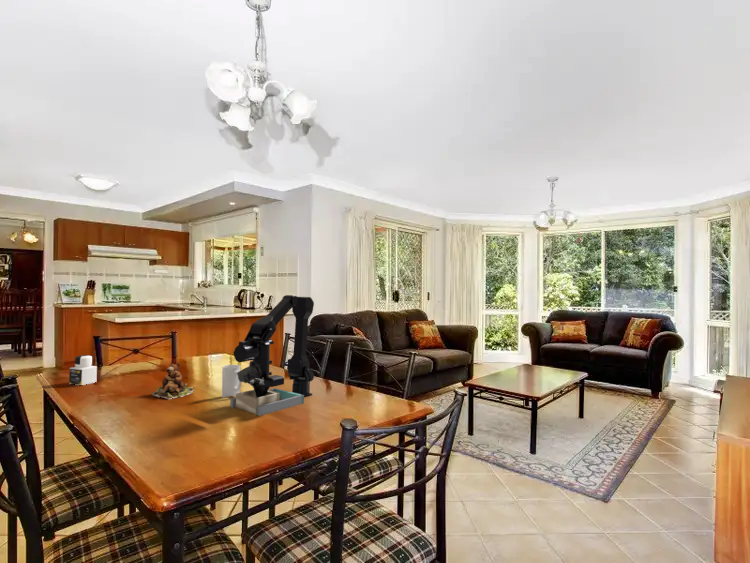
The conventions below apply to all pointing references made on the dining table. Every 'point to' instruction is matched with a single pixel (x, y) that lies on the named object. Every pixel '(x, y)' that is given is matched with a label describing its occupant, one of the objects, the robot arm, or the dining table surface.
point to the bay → (277, 402)
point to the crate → (254, 400)
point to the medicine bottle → (83, 371)
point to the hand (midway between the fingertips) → (260, 402)
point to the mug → (230, 380)
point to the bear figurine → (173, 384)
